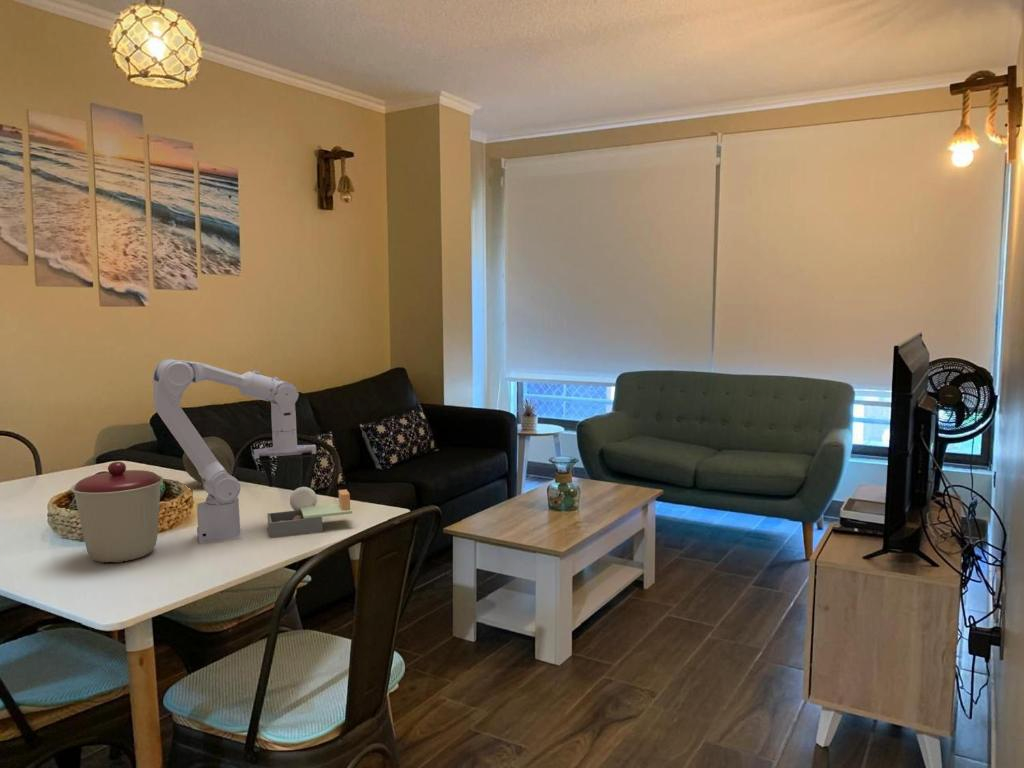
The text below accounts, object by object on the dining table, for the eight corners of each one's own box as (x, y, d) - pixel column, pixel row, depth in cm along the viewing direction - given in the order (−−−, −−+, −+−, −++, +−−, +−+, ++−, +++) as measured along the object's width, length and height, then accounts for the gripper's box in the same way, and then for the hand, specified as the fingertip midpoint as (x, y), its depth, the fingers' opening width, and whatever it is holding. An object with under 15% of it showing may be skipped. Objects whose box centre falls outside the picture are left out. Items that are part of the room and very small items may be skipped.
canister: (83, 548, 175) (76, 457, 172) (170, 538, 181) (164, 451, 179) (69, 574, 158) (61, 474, 156) (165, 563, 164) (158, 466, 162)
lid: (303, 518, 181) (302, 500, 181) (300, 509, 189) (299, 492, 189) (352, 513, 185) (351, 495, 185) (347, 504, 193) (346, 487, 193)
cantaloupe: (225, 477, 243) (222, 431, 241) (242, 485, 232) (239, 436, 231) (179, 485, 234) (176, 436, 232) (193, 493, 223) (190, 443, 222)
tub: (270, 540, 179) (269, 523, 178) (268, 529, 187) (267, 513, 187) (322, 533, 183) (322, 517, 183) (318, 523, 191) (317, 508, 191)
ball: (292, 529, 185) (292, 517, 185) (291, 526, 188) (291, 514, 187) (305, 528, 186) (305, 516, 186) (304, 525, 189) (303, 513, 188)
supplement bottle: (318, 509, 203) (319, 510, 190) (292, 515, 201) (292, 516, 189) (313, 484, 203) (314, 484, 191) (288, 489, 201) (287, 490, 189)
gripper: (312, 425, 194) (315, 478, 195) (252, 429, 189) (255, 483, 190) (316, 429, 187) (318, 484, 189) (253, 434, 182) (256, 490, 184)
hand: (287, 484), depth 189 cm, fingers open, 7 cm apart
